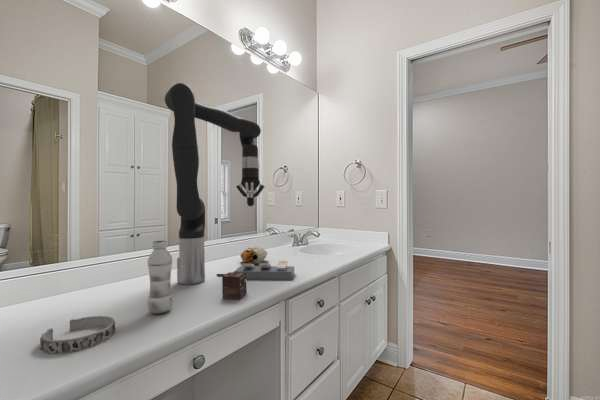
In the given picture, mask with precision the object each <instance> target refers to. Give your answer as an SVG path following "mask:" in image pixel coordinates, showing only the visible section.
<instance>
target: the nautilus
mask: <svg viewBox="0 0 600 400" xmlns="http://www.w3.org/2000/svg"><path fill="white" fill-rule="evenodd" d="M267 255H268V251H266V249H264V248H261V247H257V246H253V247H248V248H246V249H245V250H243V251H242V252H241V254H240V258H241V260H242V261H243V262H240V263H239V265H240V264H241V265H242V263H243V264H245V263H246V262H247V263H246V264H254V265H256V264H259V263H263V261H264V260H265V259H266V258H267Z"/></svg>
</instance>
